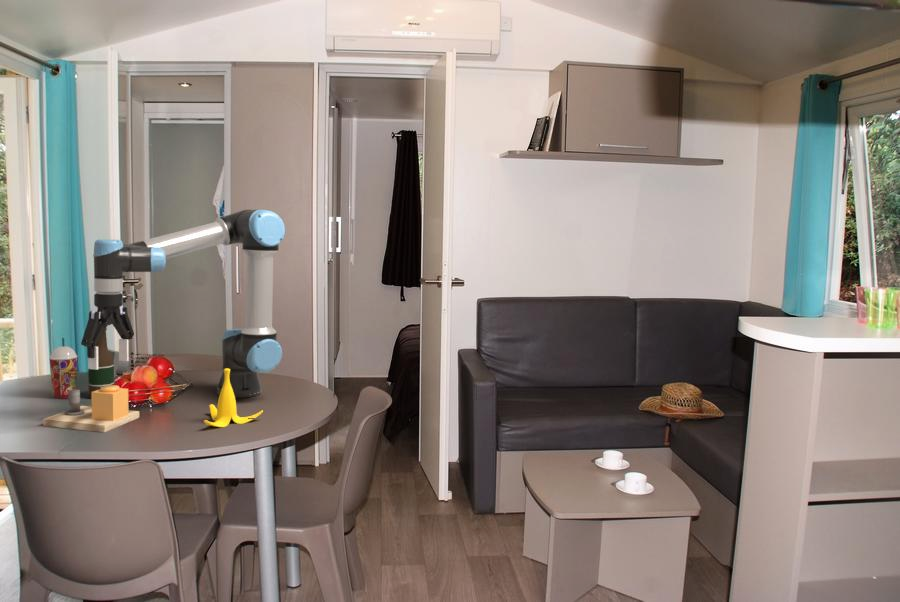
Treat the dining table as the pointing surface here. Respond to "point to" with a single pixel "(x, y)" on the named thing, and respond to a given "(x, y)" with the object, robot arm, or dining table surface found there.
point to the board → (84, 417)
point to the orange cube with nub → (109, 403)
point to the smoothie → (63, 371)
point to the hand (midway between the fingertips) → (109, 364)
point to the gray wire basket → (124, 362)
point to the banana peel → (227, 407)
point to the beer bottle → (102, 367)
